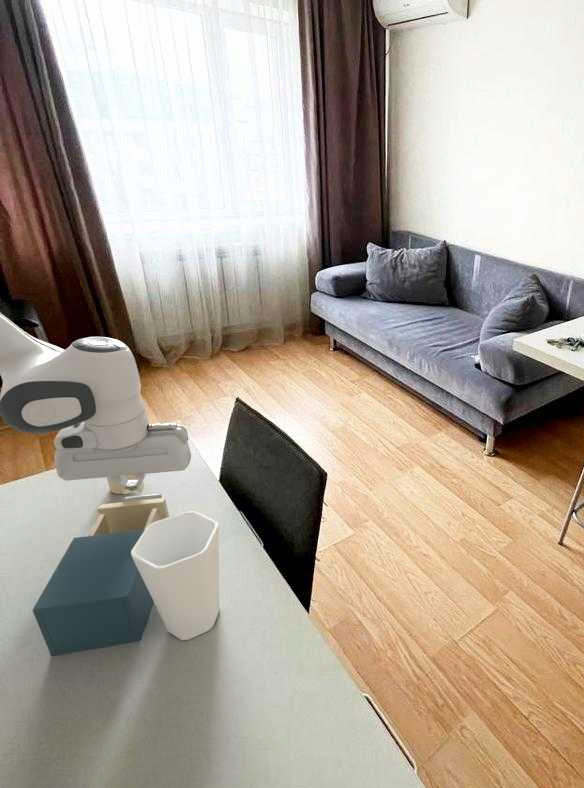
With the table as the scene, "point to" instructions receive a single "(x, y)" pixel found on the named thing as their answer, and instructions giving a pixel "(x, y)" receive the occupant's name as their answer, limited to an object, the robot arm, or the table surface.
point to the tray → (130, 514)
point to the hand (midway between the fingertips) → (133, 490)
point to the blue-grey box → (94, 596)
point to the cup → (182, 571)
